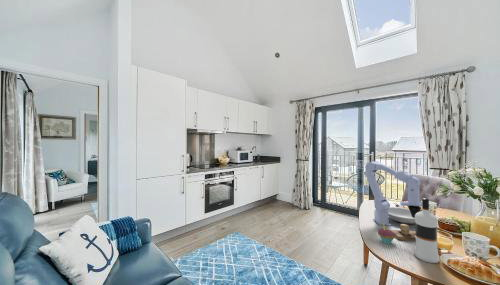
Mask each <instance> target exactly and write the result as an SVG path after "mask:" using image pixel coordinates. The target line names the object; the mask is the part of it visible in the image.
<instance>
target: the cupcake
mask: <svg viewBox="0 0 500 285" xmlns="http://www.w3.org/2000/svg"><path fill="white" fill-rule="evenodd" d="M382 226H383V228H379V229H378V230H377V235H378V236H379V238H380V240H381V242H382V243H384V244H387V245H391V244H392V242H393V240H394V239H396V237H395V234H394V233H393V232H392V231H391V230H392V229H387V228H386V227H385V226H386V225H384V222H383V225H382Z"/></svg>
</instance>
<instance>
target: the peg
mask: <svg viewBox="0 0 500 285" xmlns="http://www.w3.org/2000/svg"><path fill="white" fill-rule="evenodd" d="M400 230H401V234H402V235H403V236H409V231H411V229H410V225H409V224H407V223H400Z"/></svg>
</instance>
